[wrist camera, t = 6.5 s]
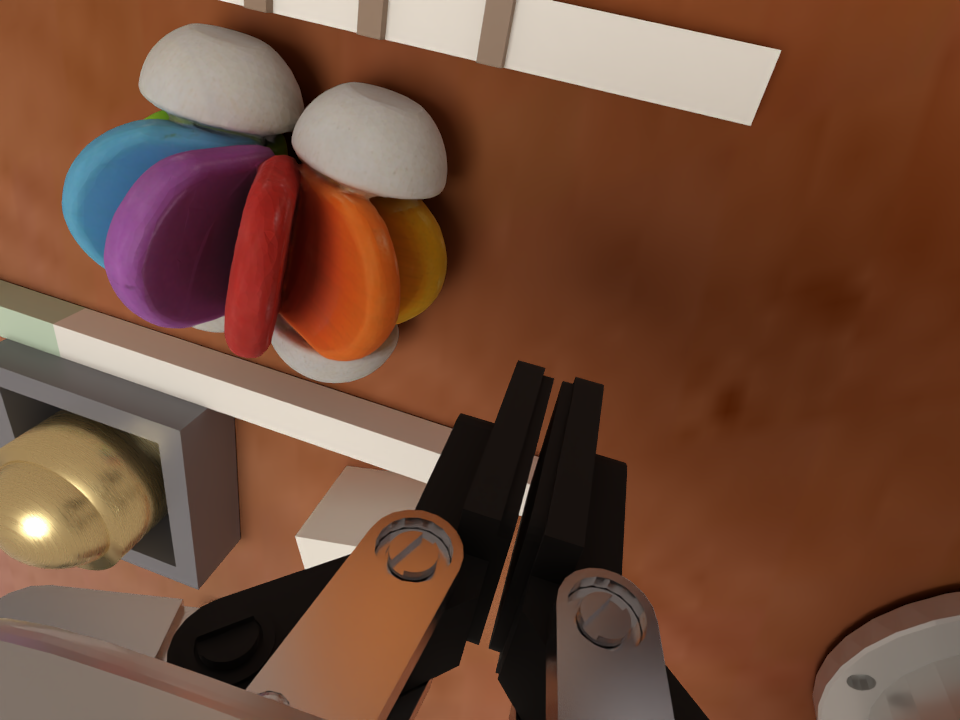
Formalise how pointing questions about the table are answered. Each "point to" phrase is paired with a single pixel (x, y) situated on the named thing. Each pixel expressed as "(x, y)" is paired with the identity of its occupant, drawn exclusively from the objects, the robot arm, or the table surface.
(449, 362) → the table surface
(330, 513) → the die
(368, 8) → the track
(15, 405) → the collar
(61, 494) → the dome
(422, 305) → the rainbow petal flower
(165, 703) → the robot arm
